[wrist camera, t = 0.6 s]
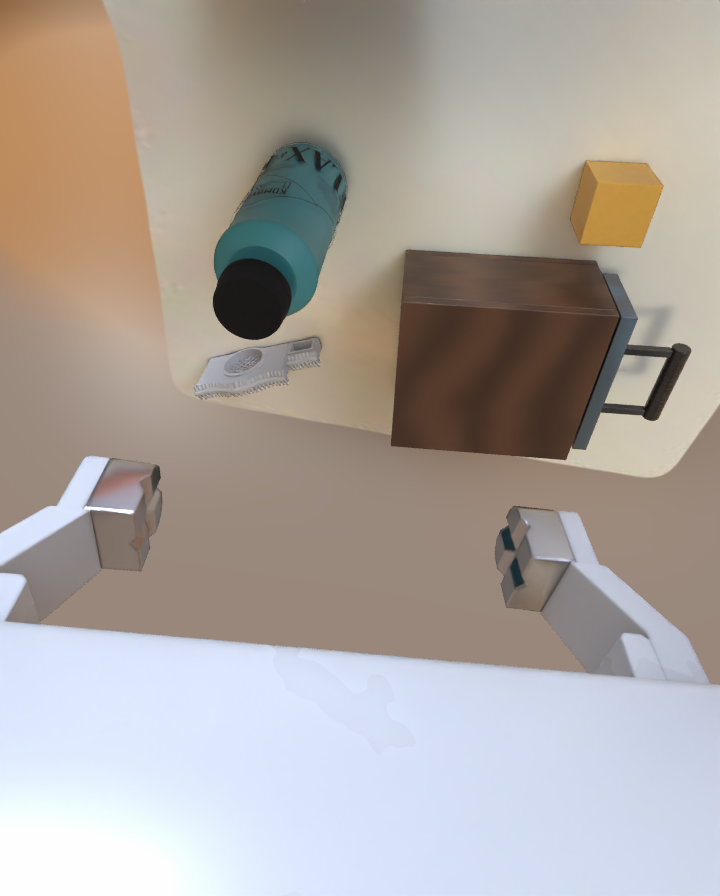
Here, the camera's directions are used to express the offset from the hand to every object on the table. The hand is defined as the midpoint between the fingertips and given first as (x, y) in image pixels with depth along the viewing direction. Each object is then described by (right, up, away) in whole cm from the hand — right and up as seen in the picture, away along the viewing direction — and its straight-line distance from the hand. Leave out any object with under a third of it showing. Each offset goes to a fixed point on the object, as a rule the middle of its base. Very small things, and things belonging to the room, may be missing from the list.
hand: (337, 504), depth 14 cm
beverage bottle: (-4, +23, +32) cm, 39 cm away
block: (+19, +21, +31) cm, 42 cm away
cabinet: (+12, +12, +40) cm, 43 cm away
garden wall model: (-9, +11, +44) cm, 46 cm away
